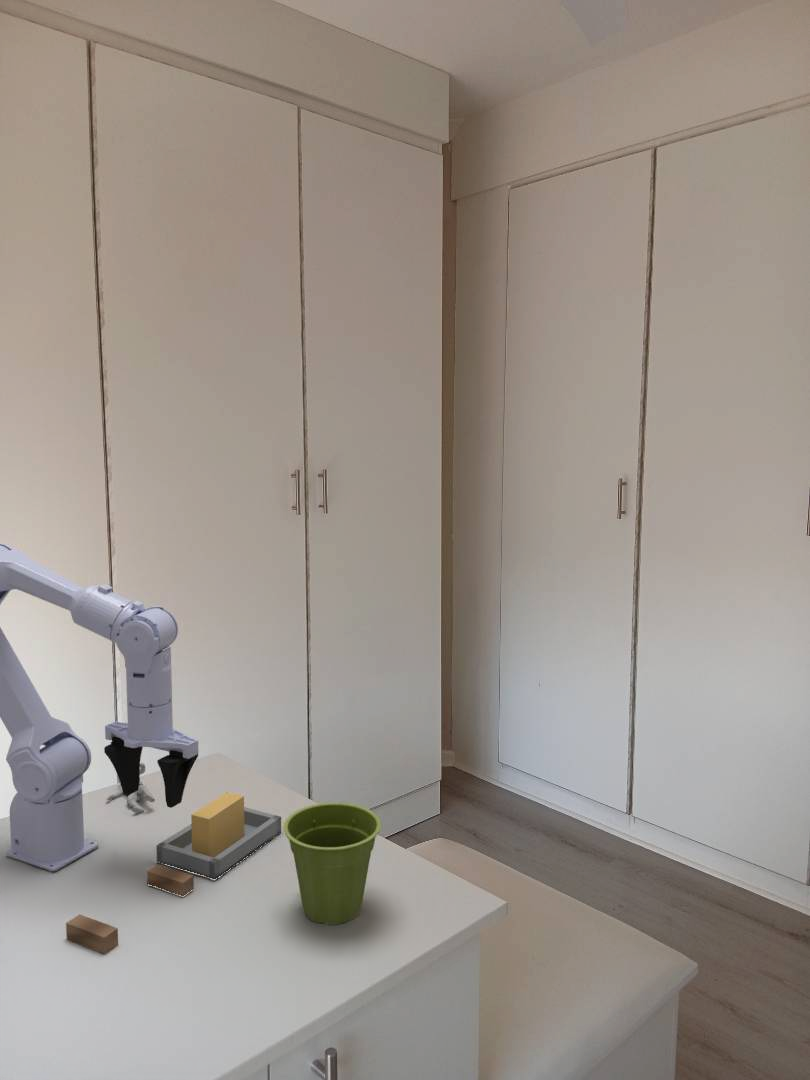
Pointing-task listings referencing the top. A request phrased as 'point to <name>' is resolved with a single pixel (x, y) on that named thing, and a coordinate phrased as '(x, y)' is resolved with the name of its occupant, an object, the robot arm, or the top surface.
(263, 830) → the tray
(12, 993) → the top surface
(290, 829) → the plant pot
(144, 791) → the soldier figure
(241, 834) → the block
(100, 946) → the brown block pair
